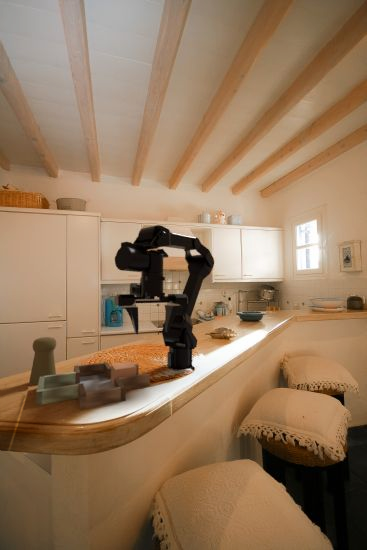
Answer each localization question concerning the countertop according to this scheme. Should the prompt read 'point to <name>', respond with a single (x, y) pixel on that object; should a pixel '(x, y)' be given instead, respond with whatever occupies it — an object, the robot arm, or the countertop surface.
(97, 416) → the countertop surface
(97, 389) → the trap lane
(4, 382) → the countertop surface
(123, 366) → the block
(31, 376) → the olive green pepper mill
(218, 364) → the countertop surface
